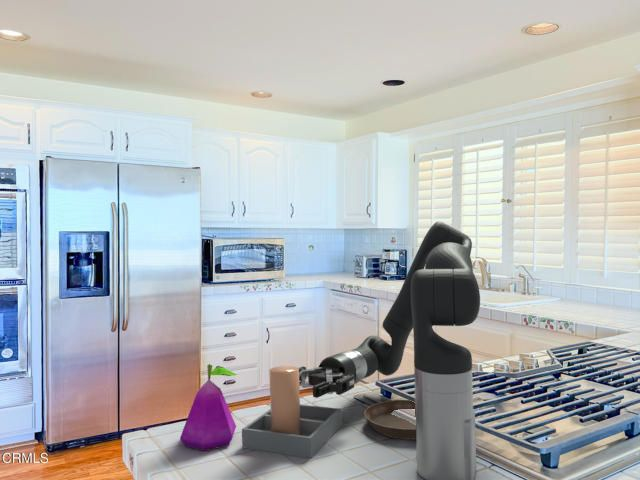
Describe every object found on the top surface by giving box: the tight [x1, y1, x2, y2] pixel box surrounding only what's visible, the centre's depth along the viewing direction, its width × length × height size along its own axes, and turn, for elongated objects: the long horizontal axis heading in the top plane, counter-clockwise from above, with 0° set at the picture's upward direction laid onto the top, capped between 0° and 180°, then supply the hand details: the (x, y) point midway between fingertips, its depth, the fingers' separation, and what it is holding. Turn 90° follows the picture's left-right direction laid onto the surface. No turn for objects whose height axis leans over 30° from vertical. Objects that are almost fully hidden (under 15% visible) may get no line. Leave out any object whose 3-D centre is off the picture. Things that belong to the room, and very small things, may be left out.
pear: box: [179, 363, 238, 452], centre depth 98 cm, size 11×11×15 cm
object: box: [363, 399, 416, 440], centre depth 103 cm, size 18×18×3 cm
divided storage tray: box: [241, 403, 342, 459], centre depth 99 cm, size 14×16×4 cm
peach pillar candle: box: [269, 365, 301, 435], centre depth 96 cm, size 6×6×13 cm
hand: (297, 388), depth 99 cm, fingers open, 8 cm apart
